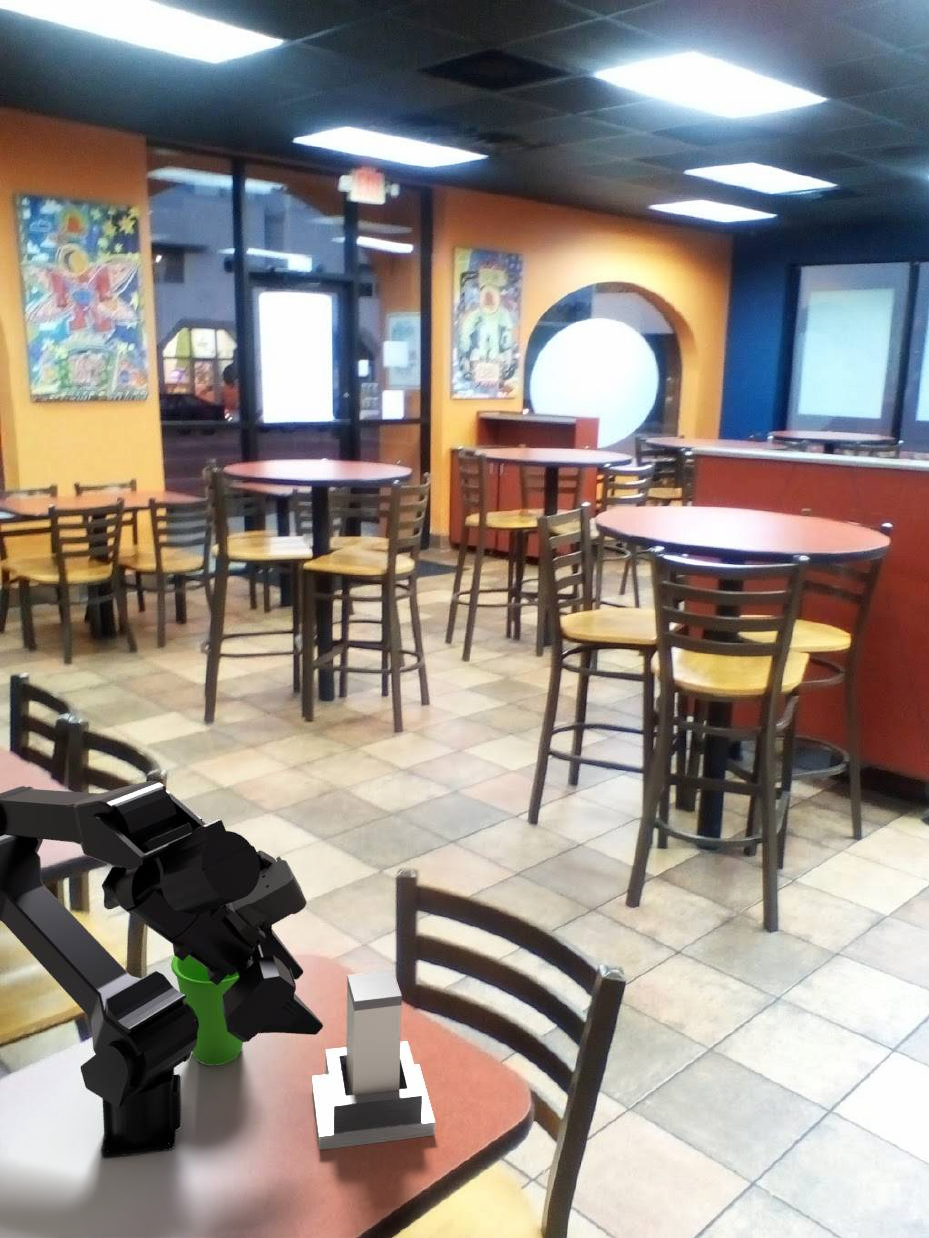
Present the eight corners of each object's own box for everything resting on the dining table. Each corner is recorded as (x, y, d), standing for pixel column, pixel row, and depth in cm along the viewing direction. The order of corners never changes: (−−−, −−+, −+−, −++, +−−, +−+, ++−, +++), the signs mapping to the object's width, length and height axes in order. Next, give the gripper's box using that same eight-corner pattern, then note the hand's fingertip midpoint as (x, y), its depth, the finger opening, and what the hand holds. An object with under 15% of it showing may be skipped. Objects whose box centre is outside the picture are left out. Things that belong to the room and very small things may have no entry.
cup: (158, 1046, 109) (155, 954, 106) (233, 1014, 115) (232, 926, 112) (199, 1090, 102) (197, 993, 100) (276, 1054, 108) (276, 961, 106)
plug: (352, 1117, 97) (354, 1001, 95) (345, 1086, 102) (347, 974, 99) (398, 1110, 98) (401, 995, 96) (389, 1080, 103) (392, 969, 100)
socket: (319, 1149, 95) (320, 1108, 94) (312, 1089, 103) (312, 1050, 102) (434, 1135, 97) (436, 1094, 96) (418, 1076, 106) (419, 1038, 105)
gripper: (267, 892, 82) (395, 991, 88) (236, 804, 99) (346, 892, 105) (169, 995, 81) (306, 1088, 87) (155, 888, 98) (270, 973, 104)
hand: (309, 1001), depth 96 cm, fingers open, 9 cm apart
